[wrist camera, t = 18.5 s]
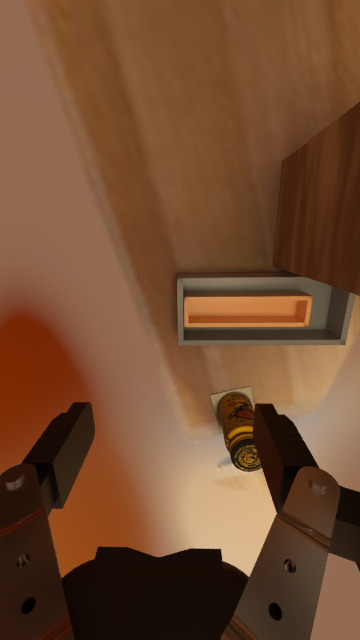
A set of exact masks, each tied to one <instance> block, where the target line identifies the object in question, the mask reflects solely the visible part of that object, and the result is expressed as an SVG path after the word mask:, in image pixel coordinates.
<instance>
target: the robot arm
mask: <svg viewBox="0 0 360 640" xmlns="http://www.w3.org/2000/svg"><path fill="white" fill-rule="evenodd" d="M94 434H95V426H94V419H93V412H92V405H91V403H90V402H74V403H73V404H72V405H71V407H70V408H69V410H68V411H67V413H61V414H60V415H58V416H57V417H56V418H55V419H53V420H52V421H51V423H50V424H49V426H48V427H47V428H46V430H45V431H44V432H43V434H42V435H41V438H39V439H38V441H37V442H36V443H35V445H34V446H33V448H32V449H31V450H30V452H29V453H28V455H27V456H26V457H25V459H24V460H23V461H22V463H21V464H19V465H15V466H13V467H11V468H9V469H7V470H6V471H4V472H3V473H2V474H1V475H0V640H310V636H311V632H312V628H313V623H314V618H315V614H316V609H317V604H318V600H319V595H320V590H321V585H322V581H323V576H324V572H325V567H326V562H327V557H328V553H332V554H335V555H338V556H340V557H343V558H346V559H348V560H351V561H354V562H356V564H357V566H358V569H359V571H360V492H358V491H354V490H351V489H347V488H344V487H342V486H340V485H338V483H337V481H336V480H335V479H334V478H333V477H332V476H331V475H330V474H329V473H327V472H326V471H324V470H322V469H320V468H319V467H318V465H317V463H316V461H315V460H314V458H313V456H312V454H311V453H310V451H309V449H308V447H307V446H306V444H305V442H304V441H303V439H302V437H301V435H300V433H298V430H297V428H296V426H295V425H294V423H293V422H292V421H291V420H290V419H289V418H288V417H286V416H285V415H278V414H277V412H276V410H275V408H274V406H273V404H255V410H254V420H253V441H254V445H255V448H256V451H257V454H258V457H259V460H260V463H261V466H262V469H263V472H264V475H265V478H266V481H267V485H268V488H269V491H270V494H271V497H272V500H273V503H274V506H275V509H276V512H277V515H276V517H275V519H274V522H273V524H272V526H271V529H270V531H269V533H268V535H267V538H266V540H265V542H264V545H263V547H262V549H261V552H260V554H259V557H258V559H257V561H256V563H255V566H254V568H253V570H252V573H251V575H250V577H248V576H247V575H246V574H245V573H244V572H242V571H241V570H239V569H238V568H236V567H235V566H233V565H231V564H229V563H226V562H224V561H222V555H221V549H188V550H184V551H180V552H177V553H174V554H170V555H167V556H163V557H154V556H151V555H149V554H146V553H142V552H140V551H137V550H134V549H131V548H128V547H98V549H97V552H96V556H95V559H93V560H90V561H88V562H85V563H83V564H81V565H80V566H78V567H76V568H74V569H73V570H72V571H70V572H69V573H68V574H66V575H65V576H64V577H63V578H62V577H61V573H60V568H59V564H58V560H57V555H56V551H55V547H54V542H53V538H52V534H51V529H50V525H49V521H48V516H49V514H50V512H51V510H52V508H55V509H62V508H63V506H64V504H65V502H66V500H67V498H68V495H69V493H70V491H71V489H72V486H73V484H74V482H75V480H76V478H77V475H78V473H79V471H80V469H81V467H82V464H83V462H84V460H85V458H86V456H87V453H88V451H89V449H90V447H91V444H92V442H93V439H94Z"/></svg>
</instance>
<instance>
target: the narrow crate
mask: <svg viewBox="0 0 360 640" xmlns="http://www.w3.org/2000/svg"><path fill="white" fill-rule="evenodd" d="M312 298H313V296H311V295H309V294H307V293H305V292H303V291H185V292H184V327H308V325H309V318H310V312H311V305H312Z"/></svg>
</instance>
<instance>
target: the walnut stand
mask: <svg viewBox="0 0 360 640" xmlns="http://www.w3.org/2000/svg"><path fill="white" fill-rule="evenodd" d="M273 266H274V267H277V268H280V269H283V270H286V271H289V272H292V273H295V274H298V275H301V276H303V277H306V278H309V279H312V280H315V281H318V282H321V283H324V284H327V285H330V286H333V287H336V288H339V289H342V290H344V291H347V292H350V293H353V294H356V295H359V296H360V102H359V103H358V104H356V105H355V106H354V107H353V108H351V109H350V110H349V111H347V112H346V113H345V114H344V115H342V116H341V117H340V118H338V119H337V120H336V121H334V122H333V123H332V124H331V125H329V126H328V127H327V128H325V129H324V130H323V131H321V132H320V133H319V134H318V135H316V136H315V137H314V138H312V139H311V140H310V141H308V142H307V143H306V144H305V145H303V146H302V147H301V148H299V149H298V150H297V151H296V152H294V153H293V154H292V155H290V156H289V157H288V158H286V159H285V160H284V161H283V162H282V172H281V183H280V193H279V204H278V214H277V225H276V235H275V246H274V256H273Z"/></svg>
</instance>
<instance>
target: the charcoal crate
mask: <svg viewBox="0 0 360 640" xmlns="http://www.w3.org/2000/svg"><path fill="white" fill-rule="evenodd" d="M185 291H303V292H305V293H307V294H309V295H311V296H313V298H312V305H311V312H310V318H309V325H308V327H184V292H185ZM354 298H355V294H353V293H350V292H347V291H344V290H342V289H339V288H336V287H333V286H330V285H327V284H324V283H321V282H318V281H315V280H312V279H309V278H306V277H303V276H301V275H298V274H295V273H292V272H254V273H178V276H177V307H178V346H191V345H345V343H346V338H347V333H348V328H349V323H350V318H351V313H352V308H353V303H354Z"/></svg>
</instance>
